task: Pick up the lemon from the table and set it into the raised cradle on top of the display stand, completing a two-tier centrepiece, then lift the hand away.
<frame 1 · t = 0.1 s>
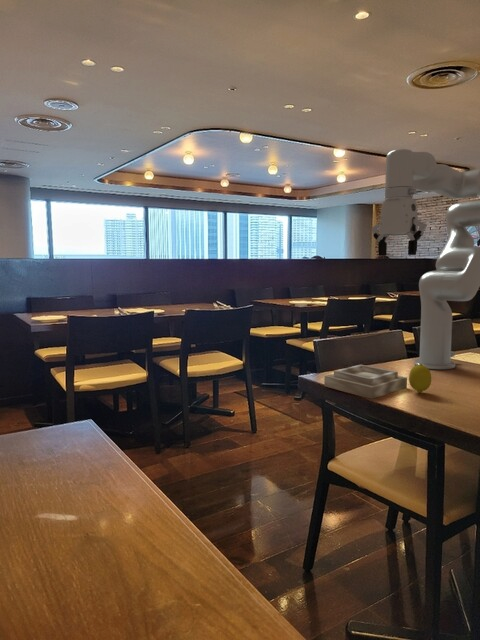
hand: (396, 255, 134), 37 cm above the table, tool pointing down, fingers open, 9 cm apart
stand: (365, 387, 129), on the table
lemon: (419, 393, 123), on the table
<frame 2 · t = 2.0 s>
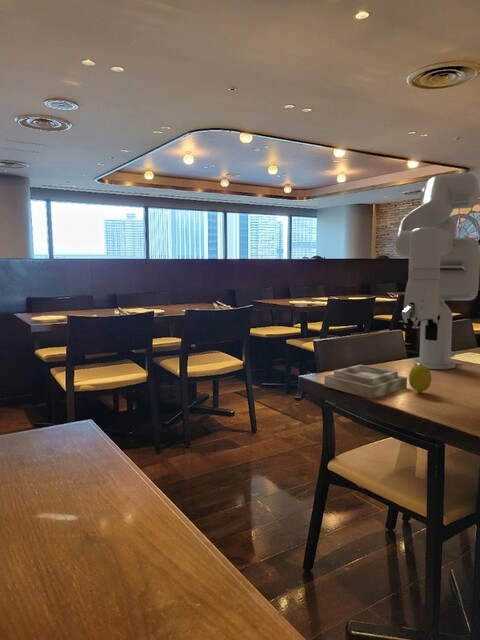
hand: (421, 341, 120), 14 cm above the table, tool pointing down, fingers open, 9 cm apart
nothing on the table moved.
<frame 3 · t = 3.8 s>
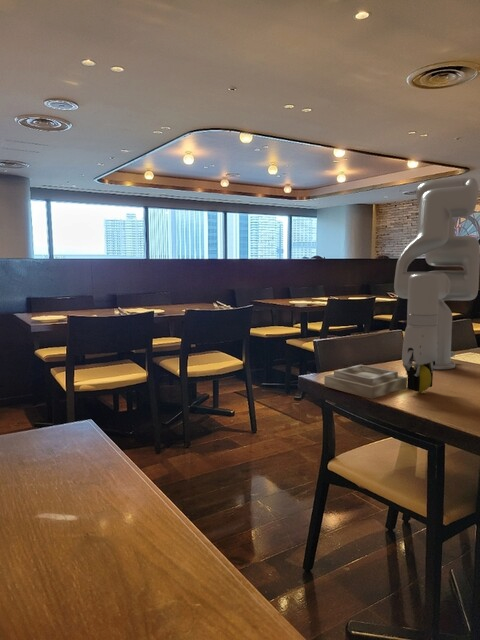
hand: (419, 387, 122), 2 cm above the table, tool pointing down, fingers closed on lemon, 5 cm apart
lemon: (419, 393, 123), on the table, touching gripper
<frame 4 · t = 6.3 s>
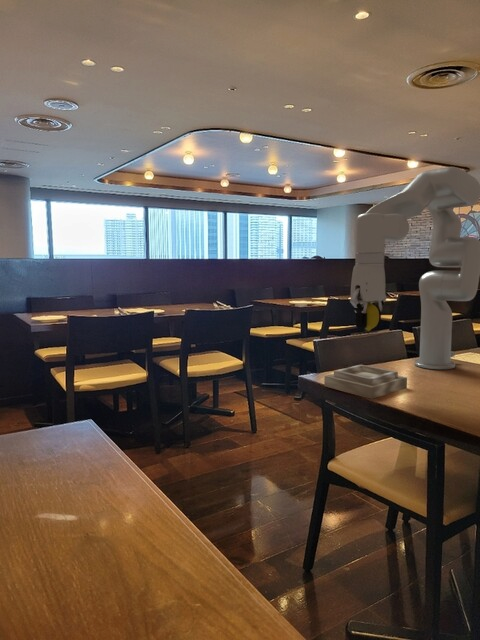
hand: (368, 325, 127), 17 cm above the table, tool pointing down, fingers closed on lemon, 5 cm apart
lemon: (368, 331, 127), point 16 cm above the table, touching gripper
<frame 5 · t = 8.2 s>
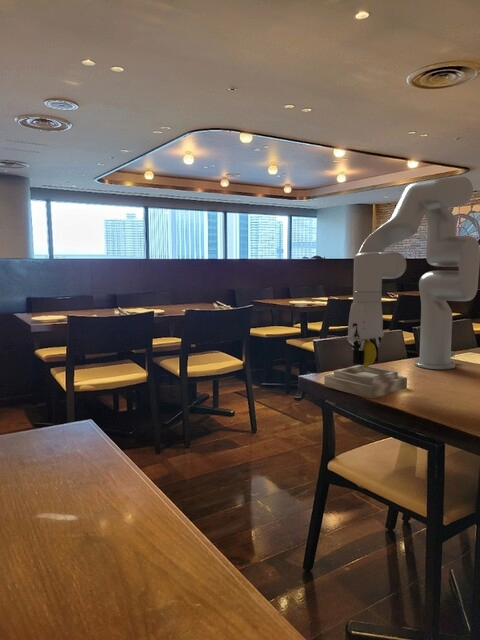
hand: (365, 362, 128), 7 cm above the table, tool pointing down, fingers closed on lemon, 5 cm apart
lemon: (365, 368, 128), point 5 cm above the table, touching gripper
when the fingers open (6 cm above the table, at t = 9.4 s): lemon drops 1 cm, resting on stand.
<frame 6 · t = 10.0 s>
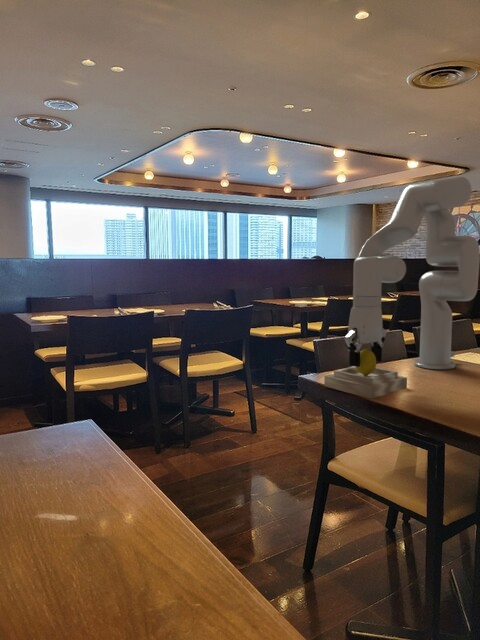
hand: (365, 363, 128), 7 cm above the table, tool pointing down, fingers open, 9 cm apart
lemon: (365, 377, 129), point 3 cm above the table, touching stand
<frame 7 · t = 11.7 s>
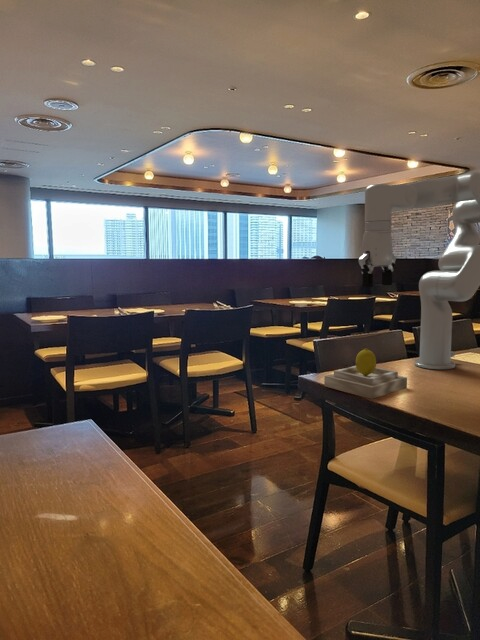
hand: (377, 286, 138), 28 cm above the table, tool pointing down, fingers open, 9 cm apart
nothing on the table moved.
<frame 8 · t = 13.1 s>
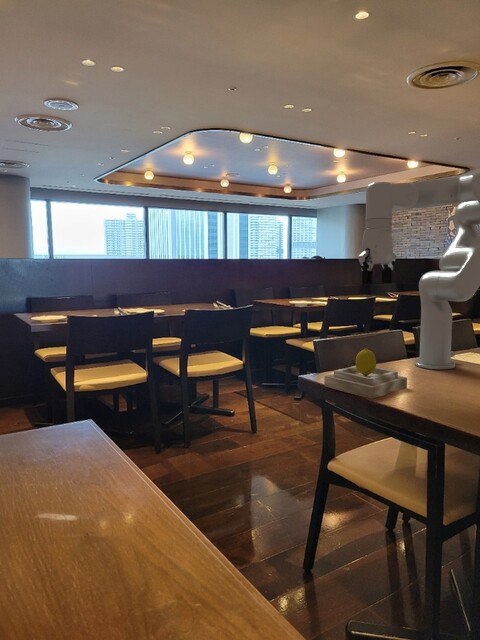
hand: (377, 283, 138), 28 cm above the table, tool pointing down, fingers open, 9 cm apart
nothing on the table moved.
at the end: lemon inside the target area on the stand (0.0 cm from its centre), point 2.8 cm above the stand's base; lemon touching stand; the gripper is holding nothing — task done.
